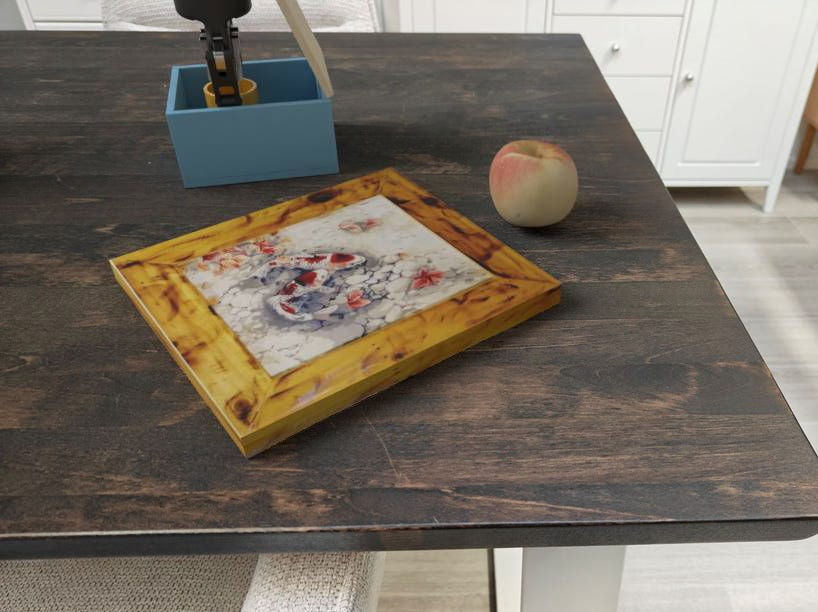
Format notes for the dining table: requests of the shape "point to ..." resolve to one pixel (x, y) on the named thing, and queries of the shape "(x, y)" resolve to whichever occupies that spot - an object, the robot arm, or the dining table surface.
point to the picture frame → (326, 301)
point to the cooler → (252, 126)
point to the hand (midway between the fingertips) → (237, 124)
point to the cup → (246, 88)
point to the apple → (533, 183)
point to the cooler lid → (306, 42)
